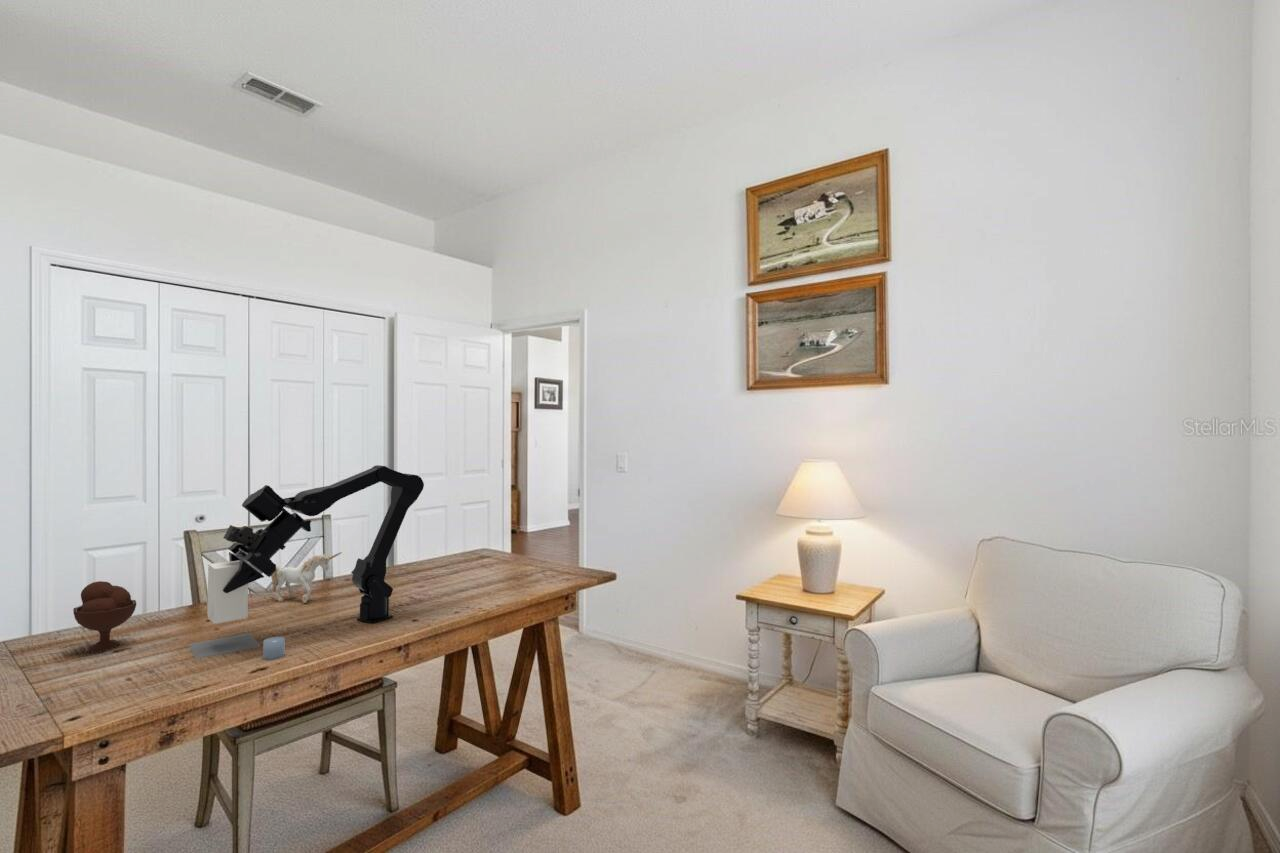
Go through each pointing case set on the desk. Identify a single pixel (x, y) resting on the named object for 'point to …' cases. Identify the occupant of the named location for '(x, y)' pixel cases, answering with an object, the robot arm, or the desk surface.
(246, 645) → the mat
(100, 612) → the ice cream bowl
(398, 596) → the desk surface
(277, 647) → the light blue cylinder
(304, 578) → the unicorn figurine
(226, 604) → the rectangular block
